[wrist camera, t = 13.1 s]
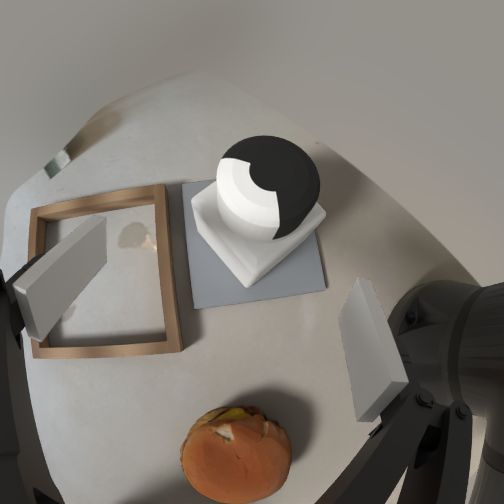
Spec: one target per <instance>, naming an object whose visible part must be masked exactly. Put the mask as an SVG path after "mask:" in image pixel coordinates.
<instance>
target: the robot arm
mask: <svg viewBox="0 0 504 504" xmlns="http://www.w3.org/2000/svg"><path fill="white" fill-rule="evenodd" d="M106 263H107V249H106V217H103V216H98V215H93V216H92V217H90V218H89V219H88V220H86V221H85V222H84V223H83V224H81V225H80V226H79V227H78V228H76V229H75V230H74V231H73V232H71V233H70V234H69V235H68V236H66V237H65V238H64V239H63V240H61V241H60V242H59V243H58V244H57V245H55V246H54V247H53V248H52V249H51V250H50V251H48V252H47V253H41V254H39V255H37V256H35V257H33V258H32V259H31V260H30V261H29V262H28V263H27V264H25V265H24V266H23V267H22V269H20V270H19V271H17V272H16V273H15V274H14V275H13V276H12V277H11V278H10V279H9V280H8V281H7V282H6V283H5V281H4V277H3V273H2V270H1V269H0V504H65V503H64V500H63V498H62V496H61V494H60V492H59V490H58V489H57V487H56V486H55V484H54V482H53V480H52V478H51V476H50V473H49V470H48V467H47V464H46V460H45V457H44V454H43V450H42V447H41V443H40V440H39V436H38V432H37V428H36V423H35V419H34V414H33V410H32V405H31V399H30V394H29V388H28V381H27V374H26V367H25V358H24V348H23V337H22V334H21V331H22V330H23V328H24V327H25V328H26V330H27V333H28V336H29V337H31V338H33V339H35V340H37V341H39V342H41V343H42V341H43V340H44V338H45V337H46V336H47V334H48V333H49V332H50V331H51V329H52V328H53V327H54V325H55V324H56V323H57V321H58V320H59V319H60V318H61V316H62V315H63V314H64V313H65V311H66V310H67V309H68V308H69V306H70V305H71V304H72V303H73V301H74V300H75V299H76V298H77V297H78V295H79V294H80V293H81V292H82V291H83V289H84V288H85V287H86V286H87V285H88V283H89V282H90V281H91V280H92V279H93V278H94V276H95V275H96V274H97V273H98V272H99V271H100V270H101V268H102V267H103V266H104V265H105V264H106ZM338 322H339V326H340V331H341V336H342V341H343V346H344V351H345V356H346V362H347V367H348V372H349V378H350V384H351V390H352V396H353V402H354V408H355V415H356V421H357V422H373V421H374V420H375V419H376V418H377V417H378V416H379V415H380V416H381V421H382V422H381V423H380V424H379V425H378V426H377V427H376V428H375V429H374V430H373V431H372V432H371V433H370V434H368V435H370V437H369V439H368V440H367V441H366V443H365V444H364V445H363V447H362V448H361V449H360V451H359V452H358V453H357V455H356V456H355V457H354V459H353V460H352V461H351V462H350V464H349V465H348V466H347V467H346V469H345V470H344V471H343V472H342V473H341V475H340V476H339V477H338V478H337V479H336V480H335V482H334V483H333V484H332V485H331V486H330V487H329V488H328V490H327V491H326V492H325V493H324V494H323V495H322V496H321V497H320V498H319V499H318V500H317V501H316V503H315V504H385V503H386V501H387V500H388V498H389V496H390V495H391V493H392V492H393V490H394V488H395V487H396V485H397V484H398V482H399V480H400V478H401V477H402V475H403V473H404V472H405V470H406V468H407V466H408V468H407V472H406V475H405V479H404V482H403V486H402V489H401V492H400V495H399V498H398V501H397V504H465V499H466V492H467V486H468V479H469V470H470V460H471V447H472V420H473V417H472V415H475V416H479V417H483V418H486V419H487V426H486V432H485V439H484V445H483V449H482V454H481V459H480V463H479V468H478V472H477V476H476V480H475V484H474V487H473V491H472V494H471V498H470V501H469V504H504V282H503V283H498V284H494V285H491V286H487V287H478V286H474V285H469V284H465V283H461V282H456V281H452V280H438V281H433V282H430V283H426V284H423V285H420V286H418V287H416V288H414V289H412V290H411V291H410V292H408V293H407V294H406V295H405V296H404V297H403V298H402V299H401V300H400V301H399V302H398V304H397V305H396V306H395V308H394V309H393V311H392V313H391V315H390V317H389V319H388V321H387V320H386V317H385V314H384V312H383V309H382V307H381V304H380V302H379V300H378V297H377V295H376V292H375V290H374V288H373V285H372V283H371V280H367V279H363V278H359V277H357V279H356V281H355V284H354V286H353V288H352V290H351V292H350V294H349V296H348V298H347V300H346V302H345V304H344V306H343V308H342V310H341V312H340V314H339V316H338Z"/></svg>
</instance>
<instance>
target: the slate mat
mask: <svg viewBox="0 0 504 504" xmlns="http://www.w3.org/2000/svg"><path fill="white" fill-rule="evenodd" d="M215 181H216V180H210V181H201V182H193V183H185V184H182V194H183V207H184V219H185V230H186V241H187V251H188V260H189V269H190V278H191V287H192V295H193V302H194V309H202V308H210V307H218V306H225V305H233V304H240V303H247V302H254V301H261V300H267V299H274V298H280V297H287V296H293V295H299V294H305V293H311V292H317V291H323V290H326V287H325V282H324V276H323V271H322V266H321V261H320V256H319V251H318V246H317V241H316V236H315V231H314V230H313V232H312V233H311V234H310V235H309V236H308V237H307V238H306V239H305V240H304V241H303V242H302V243H301V244H300V245H299V246H298V247H296V248H295V249H294V250H293V251H292V252H291V253H290V254H288V255H287V256H286V257H285V258H284V259H283V260H281V261H280V262H279V263H278V264H277V265H276V266H274V267H273V268H272V269H271V270H270V271H269V272H267V273H266V274H265V275H264V276H263V277H262V278H260V279H259V280H258V281H257V282H256V283H254V284H253V285H252V286H251V287H249V288H246V287H244V285H243V284H242V283H241V282H240V281H239V280H238V278H237V277H236V276H235V275H234V274H233V273H232V271H231V270H230V269H229V268H228V267H227V266H226V264H225V263H224V262H223V261H222V260H221V258H220V257H219V256H218V255H217V254H216V253H215V251H214V250H213V249H212V248H211V247H210V245H209V244H208V243H207V242H206V241H205V239H204V238H203V237H202V236H201V235H200V233H199V232H198V230H197V226H196V221H195V217H194V213H193V208H192V204H191V200H192V198H193V197H194V196H195V195H197V194H198V193H199V192H201V191H202V190H204V189H205V188H206V187H208V186H209V185H210V184H212V183H213V182H215Z"/></svg>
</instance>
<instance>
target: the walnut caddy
mask: <svg viewBox="0 0 504 504" xmlns="http://www.w3.org/2000/svg"><path fill="white" fill-rule="evenodd" d="M150 204H155V222H156V238H157V253H158V265H159V276H160V286H161V296H162V305H163V313H164V321H165V329H166V336H167V341H158V342H147V343H135V344H121V345H104V346H83V347H50V346H49V337H48V334H47V336H46V337H45V338H44V340H43V341H42V343H41V342H39V341H37V340H35V339H33V338H31V345H32V353H33V358H41V359H71V358H106V357H125V356H140V355H153V354H165V353H175V352H182V351H183V350H184V348H183V342H182V335H181V328H180V320H179V313H178V305H177V296H176V288H175V278H174V269H173V258H172V247H171V235H170V221H169V206H168V192H167V189H166V186H165V184H158V185H152V186H145V187H139V188H132V189H126V190H121V191H115V192H109V193H104V194H98V195H93V196H88V197H83V198H78V199H73V200H68V201H64V202H59V203H55V204H50V205H46V206H42V207H37V208H33V209H31V216H30V227H29V242H28V262H29V261H30V260H31V259H32V258H33V257H35V256H37V255H39V254H41V253H45V239H46V223H47V222H52V221H57V220H62V219H67V218H72V217H78V216H83V215H89V214H94V213H100V212H106V211H112V210H118V209H124V208H130V207H136V206H143V205H150Z"/></svg>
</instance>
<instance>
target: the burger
mask: <svg viewBox="0 0 504 504" xmlns="http://www.w3.org/2000/svg"><path fill="white" fill-rule="evenodd" d="M262 413H263V412H262V411H261V410H260V409H258V408H256V407H253V406H249V407H245V406H238V407H235V408H220V409H216V410H213V411H210V412H209V413H207V414H205V415H204V416H203V417H201V418H200V419H198V420H197V421H196V423H195V424H194V425H193V426H192V428H191V429H190V431H189V433H188V436H187V438H186V440H185V441H184V443H183V444H182V446H181V449H180V451H181V453H180V454H181V457H180V461H181V463H182V465H181V466H182V467H183V468H182V469H183V471H184V472H185V474H186V477H187V478H188V480H189V482H190V483H191V485H192V486H193V487H194V488H195V489H196V490H197V491H198V492H200V493H201V494H203V495H204V496H206V497H208V498H210V499H213V500H215V501H218V502H221V503H229V504H242V503H250V502H254V501H258V500H261V499H264V498H266V497H268V496H270V495H272V494H274V493H275V492H277V491H278V490H279V489H280V488H281V487H282V486H283V484H284V483H285V481H286V479H287V476H288V474H289V470H290V465H291V460H292V449H291V443H290V440H289V437H288V435H287V433H286V431H285V430H284V428H280V426H279V423H278V422H277V421H276V420H272V421H271V420H269V419H267V418H266V415H264V414H262ZM261 414H262V415H261Z"/></svg>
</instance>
